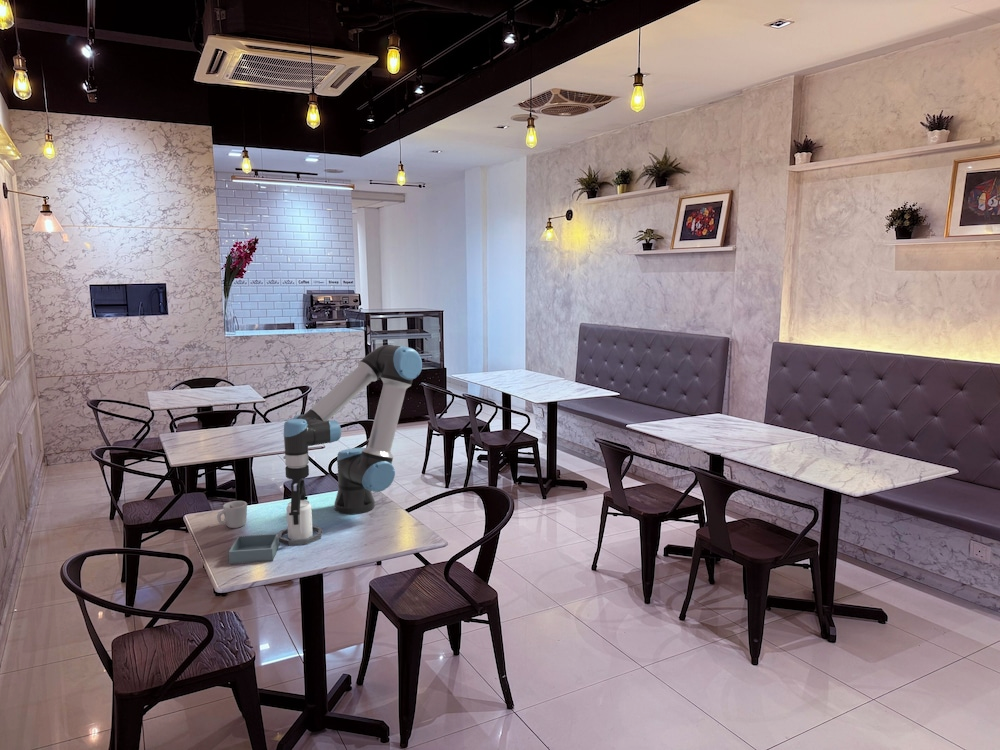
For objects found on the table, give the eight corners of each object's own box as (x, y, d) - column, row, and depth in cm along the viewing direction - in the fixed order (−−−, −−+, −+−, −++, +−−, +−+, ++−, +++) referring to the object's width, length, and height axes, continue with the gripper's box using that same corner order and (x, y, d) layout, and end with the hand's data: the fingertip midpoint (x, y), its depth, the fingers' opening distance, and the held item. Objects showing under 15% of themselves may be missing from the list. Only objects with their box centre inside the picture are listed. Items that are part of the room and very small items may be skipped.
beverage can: (305, 542, 224) (303, 508, 222) (283, 540, 225) (281, 506, 224) (316, 533, 232) (315, 500, 230) (295, 531, 233) (293, 498, 231)
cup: (224, 534, 231) (223, 511, 230) (212, 528, 236) (211, 507, 235) (252, 524, 240) (251, 503, 239) (240, 520, 245) (239, 499, 243)
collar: (323, 528, 236) (323, 524, 236) (319, 543, 223) (319, 539, 223) (282, 530, 234) (282, 526, 234) (275, 546, 220) (275, 542, 220)
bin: (279, 545, 222) (278, 533, 221) (272, 561, 209) (272, 549, 208) (238, 547, 219) (237, 536, 219) (229, 564, 207) (228, 551, 206)
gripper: (290, 456, 236) (293, 513, 239) (279, 476, 212) (282, 540, 215) (312, 455, 238) (314, 512, 241) (304, 475, 213) (306, 538, 216)
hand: (299, 525), depth 228 cm, fingers open, 13 cm apart
